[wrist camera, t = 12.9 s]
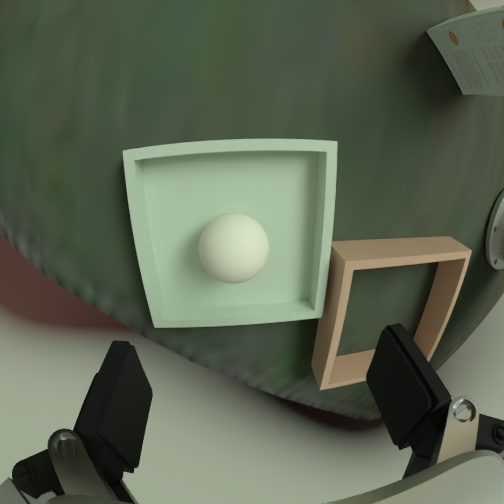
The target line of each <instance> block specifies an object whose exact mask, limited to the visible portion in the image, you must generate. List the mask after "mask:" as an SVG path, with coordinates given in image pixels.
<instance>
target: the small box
mask: <svg viewBox="0 0 504 504" xmlns="http://www.w3.org/2000/svg"><path fill="white" fill-rule="evenodd" d="M426 32H427V33H428V35H429V36H430V38H431V39H432V41H433V42H434V44H435V45H436V47H437V48H438V50H439V51H440V53H441V55H442V56H443V58H444V60H445V61H446V63H447V65H448V67H449V69H450V70H451V72H452V74H453V76H454V78H455V80H456V82H457V84H458V86H459V87H460V90H461V92H462V94H463V95H497V96H504V6H499V7H494V8H490V9H485V10H480V11H476V12H472V13H469V14H465V15H462V16H458V17H455V18H452V19H449V20H447V21H445V22H443V23H441V24H438V25H436V26H434V27H432V28H430V29H428V30H427V31H426Z"/></svg>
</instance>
